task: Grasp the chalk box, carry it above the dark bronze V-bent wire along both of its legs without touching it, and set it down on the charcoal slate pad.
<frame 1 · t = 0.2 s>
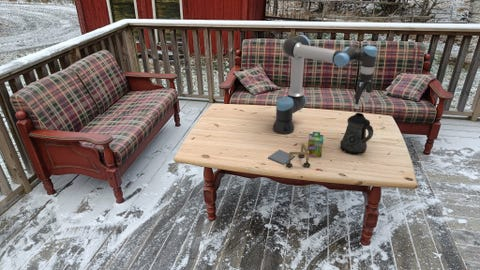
hand: (361, 105, 212), 28 cm above the table, fingers open, 13 cm apart
chalk box: (314, 153, 215), on the table
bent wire: (301, 163, 205), on the table
beer stein: (355, 149, 219), on the table
slate pad: (281, 157, 211), on the table
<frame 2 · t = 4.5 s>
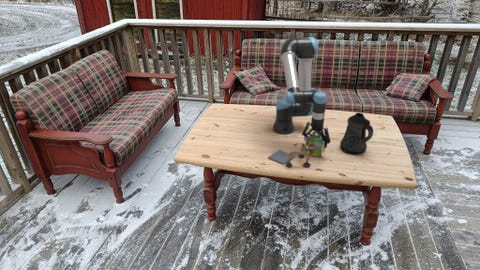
hand: (314, 148, 214), 3 cm above the table, fingers closed on chalk box, 12 cm apart
chalk box: (314, 153, 215), on the table, touching gripper
everything else where it was.
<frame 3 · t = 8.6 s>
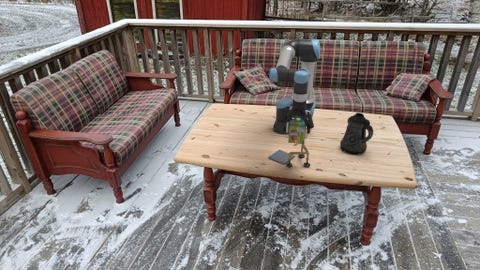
hand: (297, 135, 192), 21 cm above the table, fingers closed on chalk box, 11 cm apart
chalk box: (296, 140, 194), point 18 cm above the table, touching gripper
everything else where it was.
when the fingers open (5 cm above the table, at t = 13.2 s): chalk box stays where it is, resting on slate pad.
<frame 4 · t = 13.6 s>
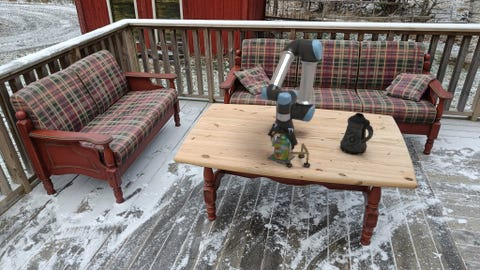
hand: (281, 149, 208), 6 cm above the table, fingers open, 13 cm apart
chalk box: (281, 156, 210), point 1 cm above the table, touching slate pad
everything else where it was.
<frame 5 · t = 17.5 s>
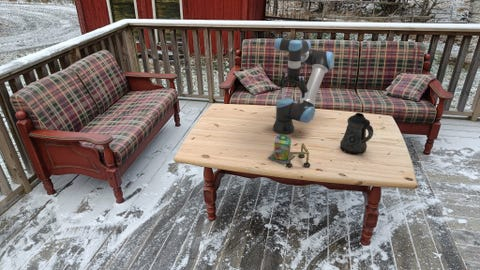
hand: (292, 100, 211), 32 cm above the table, fingers open, 13 cm apart
nothing on the table moved.
at the end: chalk box inside the target area on the slate pad (0.2 cm from its centre), point 0.8 cm above the slate pad's base; chalk box tilted 0°; chalk box touching slate pad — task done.
